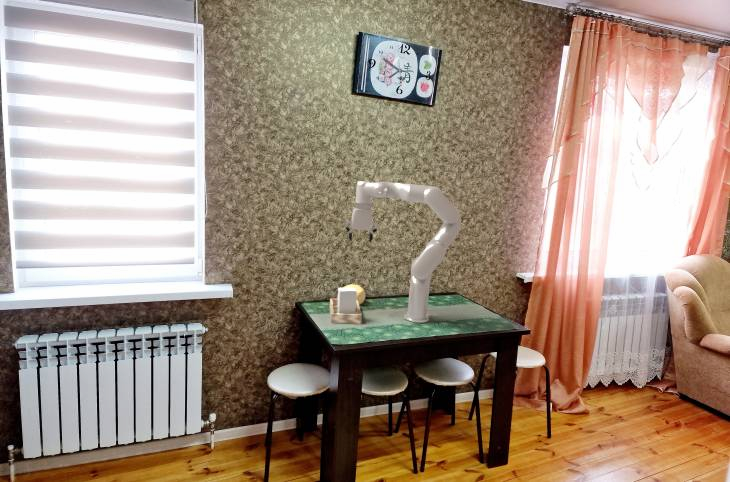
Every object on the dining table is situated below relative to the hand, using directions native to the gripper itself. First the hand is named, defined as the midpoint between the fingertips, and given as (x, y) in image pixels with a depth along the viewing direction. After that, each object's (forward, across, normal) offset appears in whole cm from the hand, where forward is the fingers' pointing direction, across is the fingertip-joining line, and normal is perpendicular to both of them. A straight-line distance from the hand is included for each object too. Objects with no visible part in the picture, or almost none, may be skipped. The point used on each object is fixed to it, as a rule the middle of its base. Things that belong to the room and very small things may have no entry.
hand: (360, 241), depth 232 cm
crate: (+36, +6, +8) cm, 38 cm away
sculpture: (+37, 0, -12) cm, 39 cm away
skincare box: (+36, +6, +14) cm, 39 cm away
